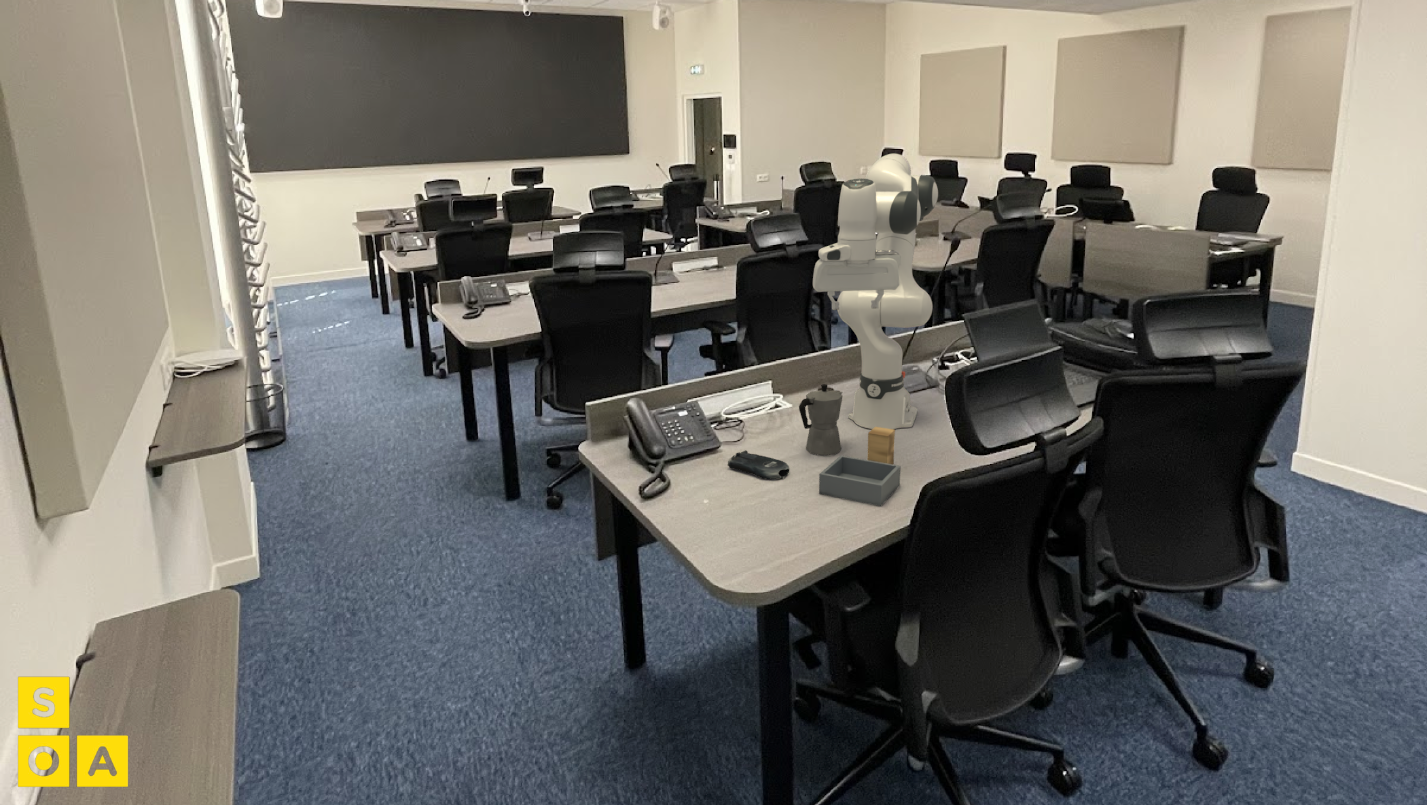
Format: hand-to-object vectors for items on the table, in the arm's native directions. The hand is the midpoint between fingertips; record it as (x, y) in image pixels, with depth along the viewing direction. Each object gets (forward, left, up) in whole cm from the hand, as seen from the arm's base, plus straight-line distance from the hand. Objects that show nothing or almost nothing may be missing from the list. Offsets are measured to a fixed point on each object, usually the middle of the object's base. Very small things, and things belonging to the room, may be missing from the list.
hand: (855, 308), depth 208 cm
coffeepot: (-4, -10, -40) cm, 41 cm away
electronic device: (+15, -18, -40) cm, 46 cm away
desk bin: (+15, +8, -39) cm, 43 cm away
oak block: (+1, +8, -39) cm, 40 cm away
